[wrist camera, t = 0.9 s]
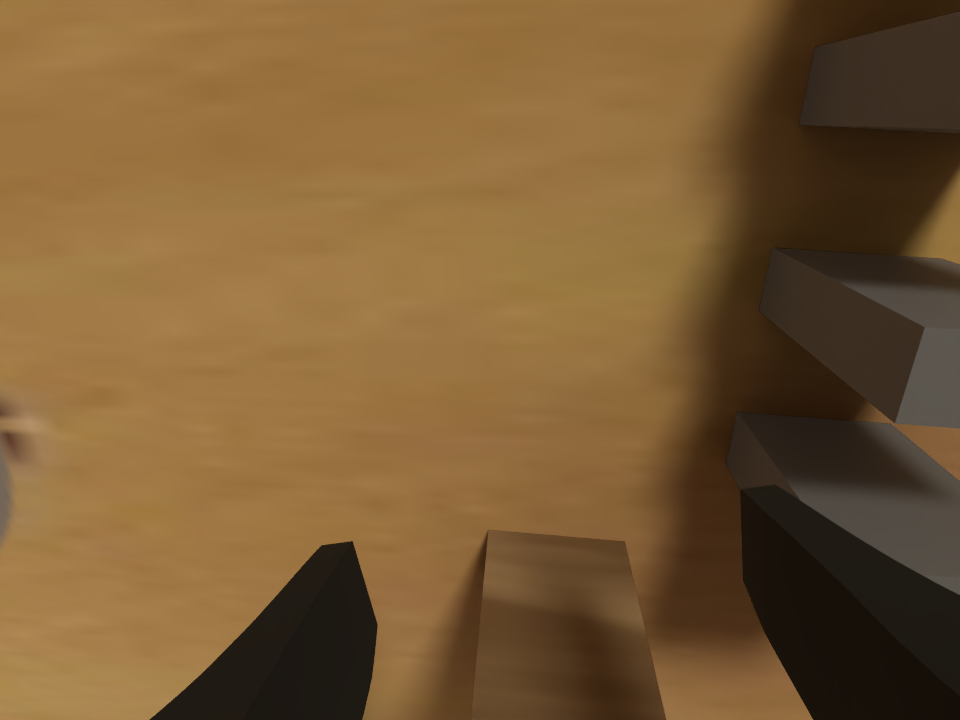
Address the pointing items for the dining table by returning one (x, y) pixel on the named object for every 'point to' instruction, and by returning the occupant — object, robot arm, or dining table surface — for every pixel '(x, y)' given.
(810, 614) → the robot arm
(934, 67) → the tile
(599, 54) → the dining table surface
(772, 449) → the grey rectangular block
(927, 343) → the tile
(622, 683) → the tile
